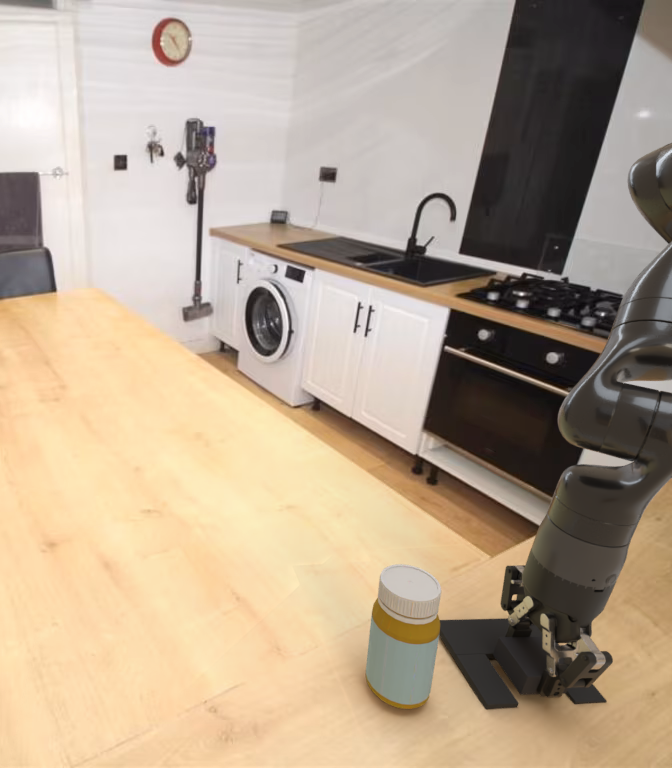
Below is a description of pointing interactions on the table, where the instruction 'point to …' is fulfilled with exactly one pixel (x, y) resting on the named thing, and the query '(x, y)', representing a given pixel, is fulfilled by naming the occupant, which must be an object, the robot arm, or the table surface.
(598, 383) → the robot arm
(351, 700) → the table surface
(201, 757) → the table surface
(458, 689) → the table surface
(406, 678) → the bottle
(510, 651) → the dark rectangular block
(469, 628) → the u-shaped plate
